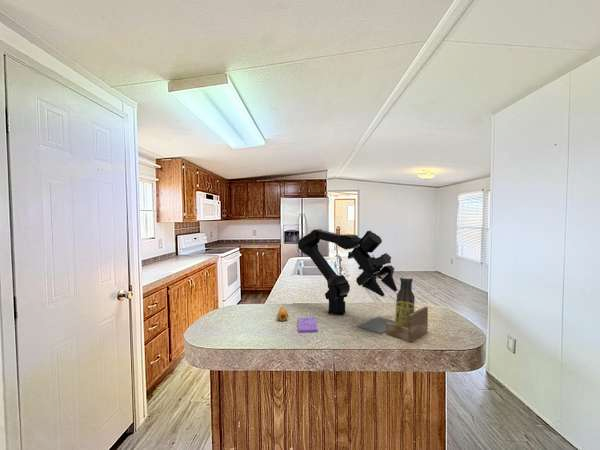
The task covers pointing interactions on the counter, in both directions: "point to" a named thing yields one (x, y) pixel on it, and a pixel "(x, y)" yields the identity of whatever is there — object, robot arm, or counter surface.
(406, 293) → the sauce bottle
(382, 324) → the charcoal mat
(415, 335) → the bottle rack
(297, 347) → the counter surface
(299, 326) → the sponges
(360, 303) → the counter surface
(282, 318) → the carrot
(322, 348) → the counter surface
